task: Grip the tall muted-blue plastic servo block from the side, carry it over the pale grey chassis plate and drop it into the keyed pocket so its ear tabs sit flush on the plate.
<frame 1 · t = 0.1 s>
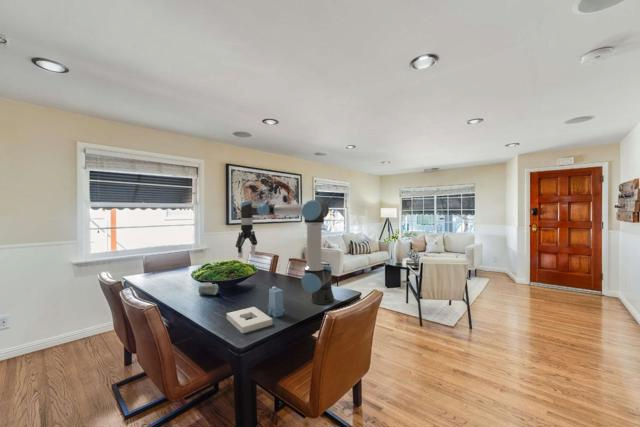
hand: (247, 256, 180), 28 cm above the table, fingers open, 13 cm apart
servo: (275, 314, 152), on the table
spool: (208, 294, 187), on the table
chassis: (248, 321, 142), on the table
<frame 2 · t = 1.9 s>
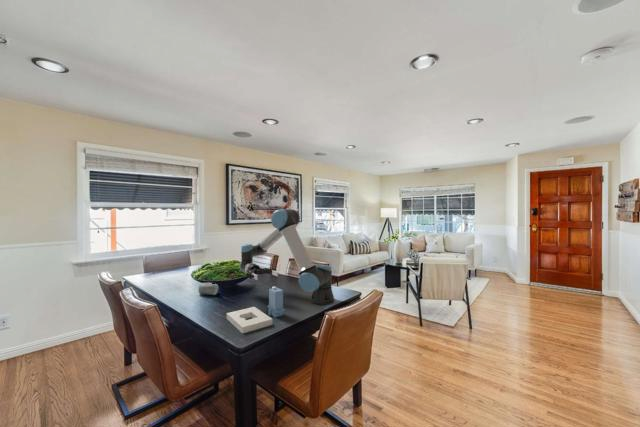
hand: (267, 275, 162), 19 cm above the table, fingers open, 13 cm apart
nothing on the table moved.
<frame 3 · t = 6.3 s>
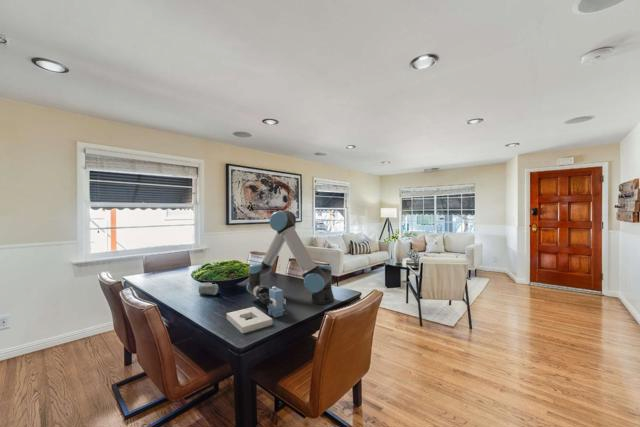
hand: (280, 302, 148), 8 cm above the table, fingers closed on servo, 5 cm apart
servo: (275, 314, 152), on the table, touching gripper
everything else where it was.
when the fingers open (9 cm above the table, at t = 11.8 s): servo drops 1 cm, resting on chassis.
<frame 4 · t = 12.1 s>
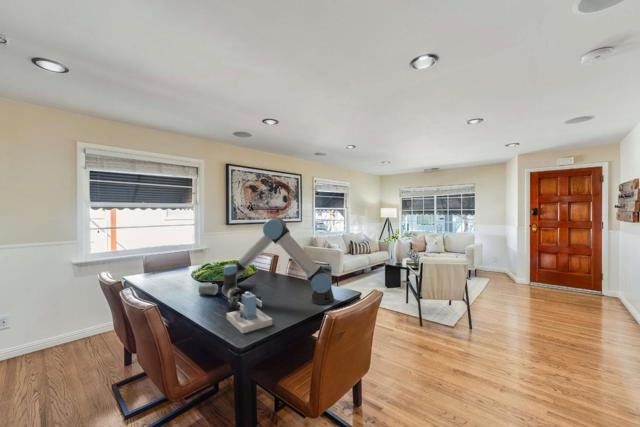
hand: (252, 306, 138), 9 cm above the table, fingers open, 9 cm apart
servo: (248, 321, 142), resting on chassis
everything else where it was.
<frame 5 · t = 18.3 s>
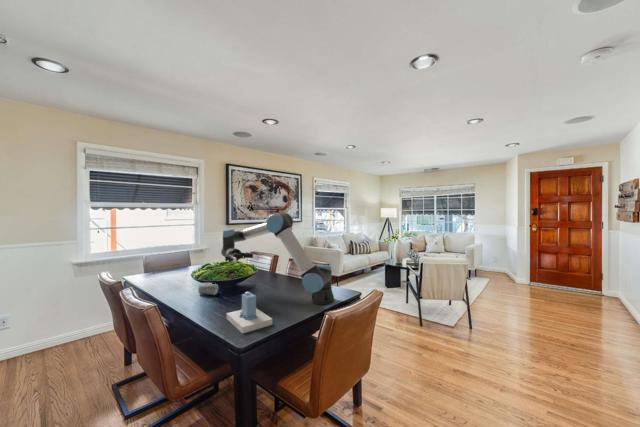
hand: (247, 259, 158), 30 cm above the table, fingers open, 13 cm apart
nothing on the table moved.
at the end: servo 0.1 cm off-centre on the chassis, point 0.0 cm above the chassis's base; servo tilted 0°; the gripper is holding nothing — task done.
